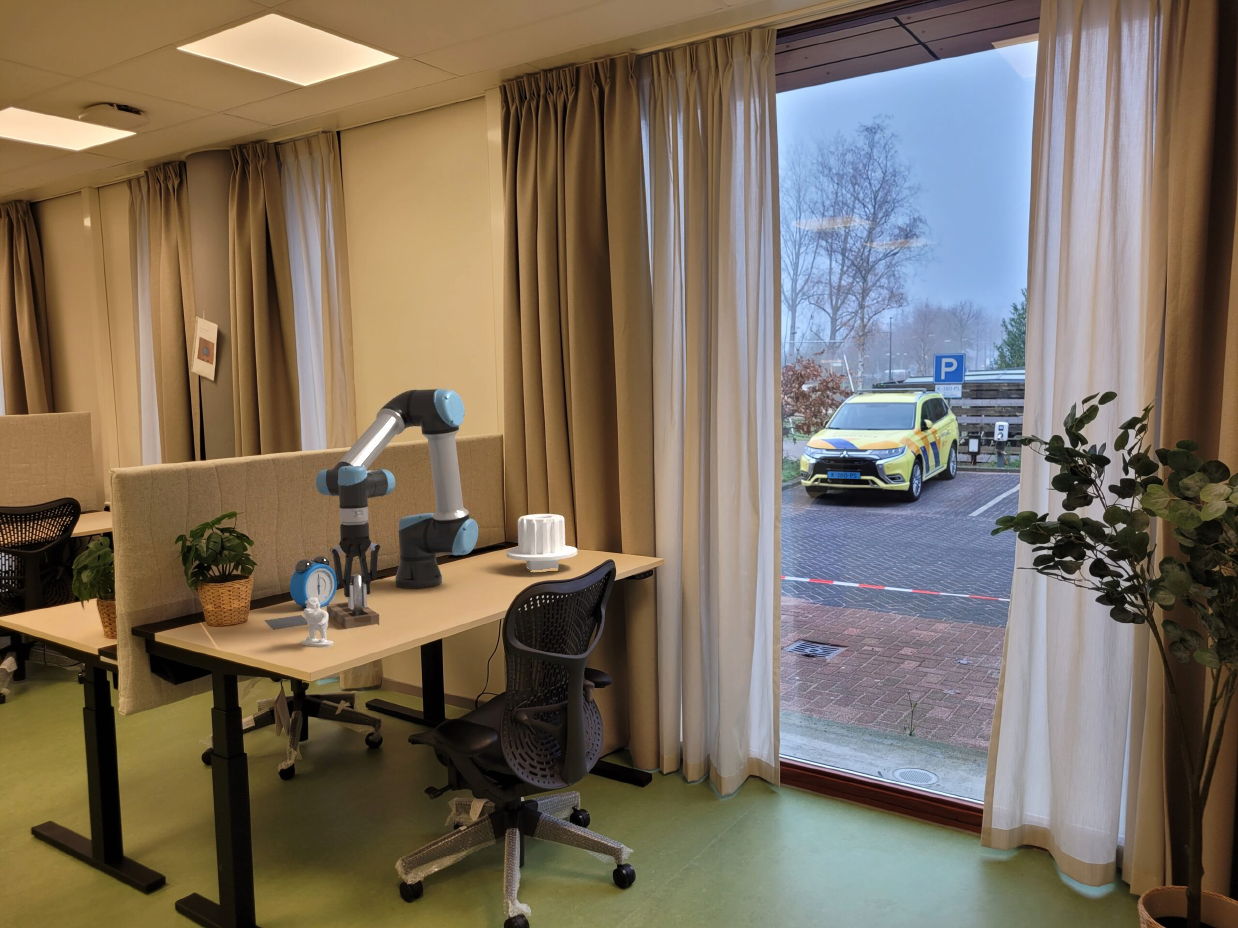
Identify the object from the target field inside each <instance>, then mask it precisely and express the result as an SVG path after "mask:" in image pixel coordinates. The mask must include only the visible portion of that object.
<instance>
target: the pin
mask: <svg viewBox="0 0 1238 928" xmlns="http://www.w3.org/2000/svg"><path fill="white" fill-rule="evenodd" d="M362 582H363V576H362V573H361V574H360V573H359V574H358V573H355V574H354V573H353V574H351V580H350V584H351V585H353V600H354V609H352V617H354V616H360V615H364V609H363V585H362Z"/></svg>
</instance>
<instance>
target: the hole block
mask: <svg viewBox="0 0 1238 928" xmlns="http://www.w3.org/2000/svg"><path fill="white" fill-rule="evenodd" d="M325 607H326V612H327V613H328V615H329V617H330V618H331V619H333V620H334V621H335V622H337V623H338V624H339V625H341V626H342V627H343V628H345V630H349V629H355V628H361V627H366V626H373V625H374V626H375V625H378V626H380V614H379V613H378V612H376V611H374V610H373V609H372V608H370V607H369V606H367V607H366V608H364V607H363V609H364V615H360V616H354V617H352V609H350V608H348V601H345V602H339V603H329V605H326V606H325Z"/></svg>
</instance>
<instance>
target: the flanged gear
mask: <svg viewBox="0 0 1238 928" xmlns="http://www.w3.org/2000/svg"><path fill="white" fill-rule="evenodd" d="M565 525H566V524H565V517H564V516H563V515H560V514H554V513H553V514H552V513H536V514H535V513H534V514H527V515H521V516H520V517H519V518H518V519H517V543H518V545H517V547H513V548H509V549H507V550H506V554H505V555H506V557H507V558H508V559H511V560H517V561H526V562H525V563H526V568H527V567H528V568H529V570H530V571H532V570H543V569H550V568H558V569H559V560H565V559H568V558H569V559H570V558H572V557H575V556H577V555H578V548H577V547H575V546H570V545H566V529H565V528H566V527H565ZM529 570H528V571H529Z"/></svg>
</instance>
